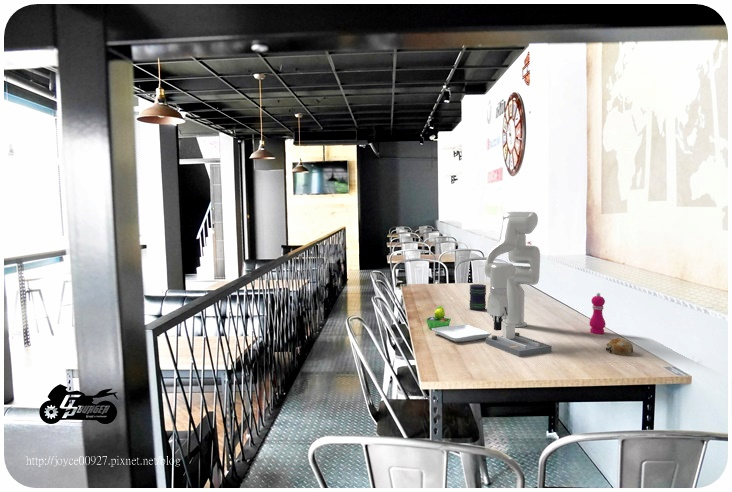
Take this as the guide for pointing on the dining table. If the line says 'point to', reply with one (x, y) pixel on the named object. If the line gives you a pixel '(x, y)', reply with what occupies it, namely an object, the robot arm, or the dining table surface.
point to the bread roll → (620, 347)
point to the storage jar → (477, 297)
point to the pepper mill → (597, 315)
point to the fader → (509, 330)
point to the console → (518, 345)
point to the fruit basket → (438, 319)
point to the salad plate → (461, 333)
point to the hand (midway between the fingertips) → (497, 329)
